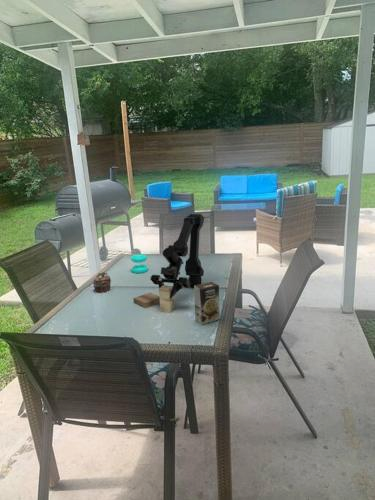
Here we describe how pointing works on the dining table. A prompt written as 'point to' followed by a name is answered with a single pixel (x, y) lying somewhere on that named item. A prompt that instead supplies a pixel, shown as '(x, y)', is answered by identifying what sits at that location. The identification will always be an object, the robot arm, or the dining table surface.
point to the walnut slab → (147, 300)
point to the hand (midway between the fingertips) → (165, 297)
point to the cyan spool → (139, 259)
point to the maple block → (166, 299)
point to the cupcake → (102, 283)
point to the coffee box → (206, 302)
